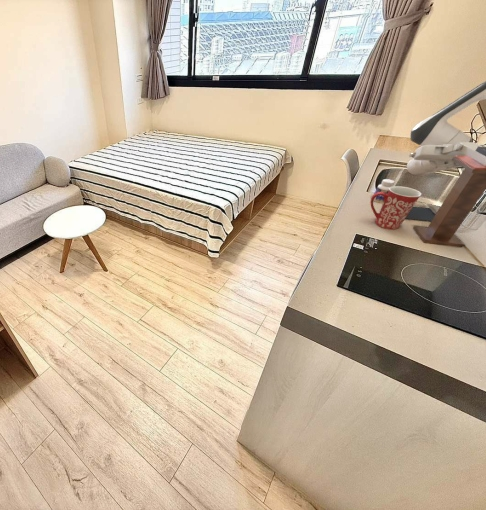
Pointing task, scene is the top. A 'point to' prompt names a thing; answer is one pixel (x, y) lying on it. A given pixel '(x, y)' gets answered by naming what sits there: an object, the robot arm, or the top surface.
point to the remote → (474, 151)
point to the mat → (420, 214)
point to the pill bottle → (383, 189)
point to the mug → (395, 206)
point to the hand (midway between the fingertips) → (471, 147)
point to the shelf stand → (456, 204)
